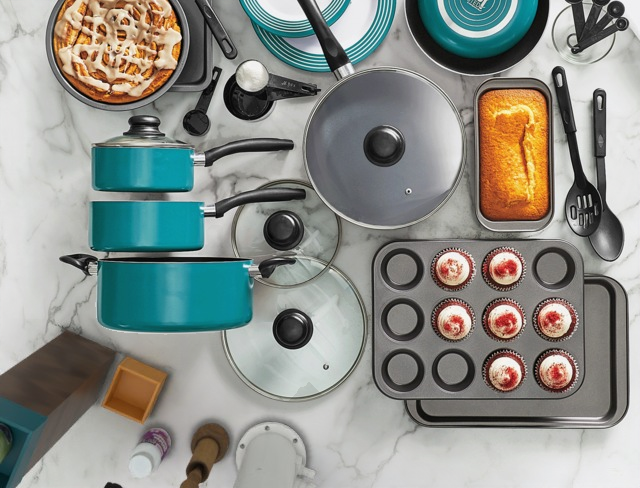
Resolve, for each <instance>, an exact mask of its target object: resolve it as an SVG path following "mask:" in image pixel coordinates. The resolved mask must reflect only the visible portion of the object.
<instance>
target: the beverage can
mask: <svg viewBox="0 0 640 488" xmlns="http://www.w3.org/2000/svg"><path fill="white" fill-rule="evenodd" d="M12 443H13V438H12V434H11V431H10V429H9V428H8V427H7V426H6V425H5V424H4V423H2V422H0V463H1V462H2V461H3V460H4V458H5V457H6V456H7V455H8V453H9V452H10V450H11V447H12Z"/></svg>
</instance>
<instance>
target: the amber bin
mask: <svg viewBox="0 0 640 488" xmlns="http://www.w3.org/2000/svg"><path fill="white" fill-rule="evenodd" d="M168 375H169V374H168V373H166V372H164V371H162V370H159V369H157V368H155V367H152V366H151V365H148V364H146V363H144V362H142V361H140V360H137V359H134V358H132V357H130V356H126V357H125V358H124V359H123V360H122V361H121V362H120V363H119V364H118V365H117V368H116V370H115V372H114V375H113V377H112V379H111V381H110V384H109V386H108V389H107V391H106V393H105V396H104V398H103V400H102V403H101V405H100V407H101V408H103V409H106V410H108V411H110V412H112V413H114V414H117V415H119V416H121V417H124V418H126V419H129V420H131V421H133V422H136V423H138V424H140V425H144V424H145V422H147V420H148V418H149V417H150V416H151V414H152V412H153V410H154V407H155V405H156V402H157V400H158V398H159V396H160V394H161V391H162V389H163V387H164V384H165V382H166V379H167V377H168Z"/></svg>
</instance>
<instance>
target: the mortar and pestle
mask: <svg viewBox="0 0 640 488" xmlns="http://www.w3.org/2000/svg"><path fill="white" fill-rule="evenodd" d="M229 446H230V438H229V434H228V432H227V430H226V429H225V428H224V427H223V426H222V425H220V424H218V423H214V422H212V423H211V422H210V423H205V424H203V425H201V426H199V427H198V428H197V430H196V431H195V433H194V434H193V437H192V439H191V441H190V453H191V454H192V455H191V458H190V459H189V462H188V463H187V465H186V467H185V476H186V479H185V480H183V481H182V482H181V483H180V485H179V488H200V484H203V483H205V482H206V481H207V480H208V478H209V477H210V474H211V472H212V469H213V467H214V465H215V464H217V463H219V462H220V461H221V460H222V459H224V458H225V455H226V453H227V451H228V448H229Z"/></svg>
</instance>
